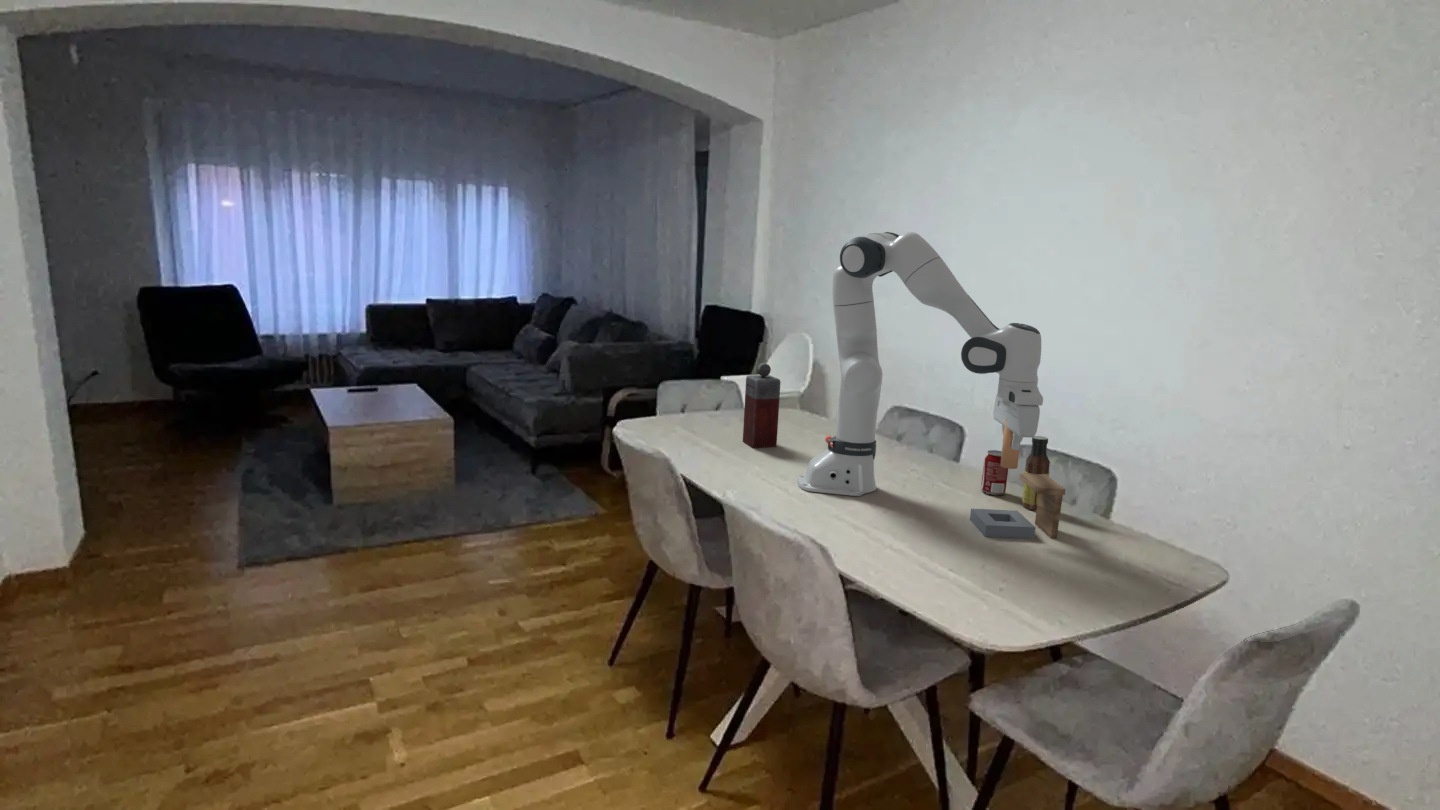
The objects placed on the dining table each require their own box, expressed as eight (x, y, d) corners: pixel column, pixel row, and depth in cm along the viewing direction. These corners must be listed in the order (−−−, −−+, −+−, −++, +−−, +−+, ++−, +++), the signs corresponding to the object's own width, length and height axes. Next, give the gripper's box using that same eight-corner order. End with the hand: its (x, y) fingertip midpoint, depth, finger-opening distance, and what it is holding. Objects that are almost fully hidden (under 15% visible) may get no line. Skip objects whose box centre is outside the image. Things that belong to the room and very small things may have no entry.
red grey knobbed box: (763, 438, 277) (767, 360, 272) (776, 447, 267) (781, 365, 261) (739, 440, 274) (743, 360, 268) (752, 448, 264) (757, 365, 258)
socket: (984, 536, 193) (986, 525, 192) (969, 519, 204) (971, 508, 204) (1033, 538, 193) (1035, 527, 192) (1015, 521, 205) (1017, 510, 204)
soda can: (1006, 497, 224) (1011, 456, 222) (981, 495, 225) (986, 454, 223) (1003, 490, 231) (1008, 450, 228) (979, 488, 232) (983, 448, 229)
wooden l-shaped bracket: (1031, 538, 193) (1038, 488, 190) (1014, 521, 204) (1020, 473, 202) (1058, 540, 193) (1065, 489, 190) (1039, 522, 205) (1045, 474, 202)
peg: (1003, 468, 193) (1008, 420, 191) (998, 463, 197) (1003, 417, 194) (1019, 469, 193) (1025, 421, 190) (1014, 464, 197) (1019, 417, 194)
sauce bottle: (1044, 506, 218) (1054, 436, 214) (1046, 513, 212) (1056, 441, 208) (1019, 502, 220) (1028, 433, 216) (1020, 509, 214) (1029, 438, 210)
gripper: (990, 383, 201) (984, 435, 204) (1018, 398, 181) (1012, 457, 184) (1014, 383, 201) (1008, 436, 204) (1046, 399, 181) (1039, 458, 184)
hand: (1010, 446), depth 194 cm, fingers closed on peg, 4 cm apart
